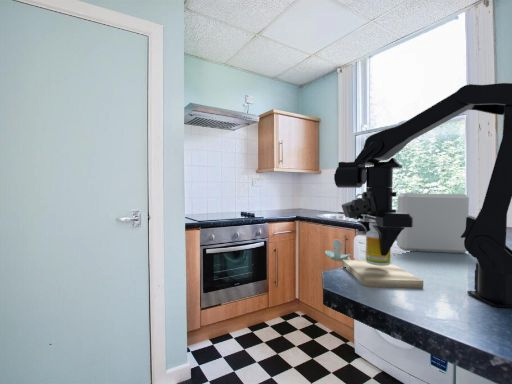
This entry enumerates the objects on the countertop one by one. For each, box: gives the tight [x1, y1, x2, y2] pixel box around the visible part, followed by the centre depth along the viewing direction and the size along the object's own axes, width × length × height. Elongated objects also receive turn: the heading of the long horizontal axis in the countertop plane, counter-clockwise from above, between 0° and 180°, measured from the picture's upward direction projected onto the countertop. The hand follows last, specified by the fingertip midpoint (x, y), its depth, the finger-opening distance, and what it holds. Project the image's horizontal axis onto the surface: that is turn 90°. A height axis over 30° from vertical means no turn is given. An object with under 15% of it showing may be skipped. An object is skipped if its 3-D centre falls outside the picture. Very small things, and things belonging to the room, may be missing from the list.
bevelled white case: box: [396, 192, 470, 254], centre depth 93 cm, size 21×8×20 cm, turn 82°
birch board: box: [341, 259, 424, 289], centre depth 63 cm, size 16×12×2 cm
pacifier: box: [324, 238, 352, 262], centre depth 77 cm, size 7×6×6 cm
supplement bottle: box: [365, 222, 391, 266], centre depth 63 cm, size 5×5×10 cm
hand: (378, 252), depth 63 cm, fingers closed on supplement bottle, 5 cm apart
